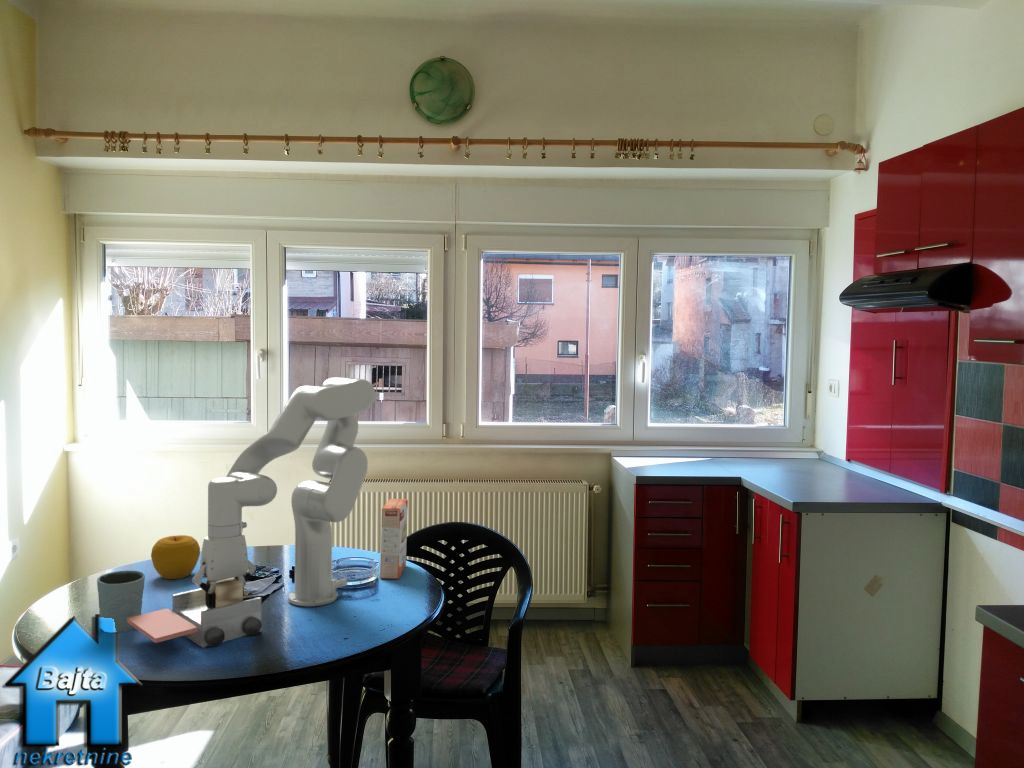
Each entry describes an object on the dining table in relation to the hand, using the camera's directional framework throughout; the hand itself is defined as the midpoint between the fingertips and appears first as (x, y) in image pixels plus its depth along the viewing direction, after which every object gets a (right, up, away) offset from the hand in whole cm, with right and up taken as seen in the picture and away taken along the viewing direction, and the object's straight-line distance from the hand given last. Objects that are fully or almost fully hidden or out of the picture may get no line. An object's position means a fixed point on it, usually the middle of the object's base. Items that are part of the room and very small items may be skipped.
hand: (224, 604), depth 180 cm
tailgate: (-7, -1, -7) cm, 10 cm away
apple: (-28, -3, +38) cm, 47 cm away
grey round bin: (-24, -5, 0) cm, 25 cm away
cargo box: (0, -1, 0) cm, 1 cm away
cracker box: (+33, -4, +46) cm, 57 cm away
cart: (-2, -6, -1) cm, 6 cm away
